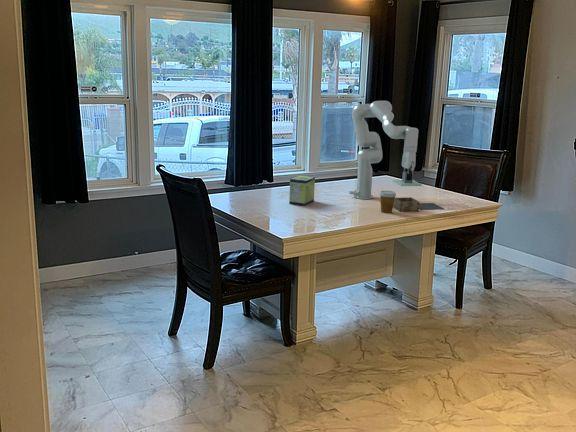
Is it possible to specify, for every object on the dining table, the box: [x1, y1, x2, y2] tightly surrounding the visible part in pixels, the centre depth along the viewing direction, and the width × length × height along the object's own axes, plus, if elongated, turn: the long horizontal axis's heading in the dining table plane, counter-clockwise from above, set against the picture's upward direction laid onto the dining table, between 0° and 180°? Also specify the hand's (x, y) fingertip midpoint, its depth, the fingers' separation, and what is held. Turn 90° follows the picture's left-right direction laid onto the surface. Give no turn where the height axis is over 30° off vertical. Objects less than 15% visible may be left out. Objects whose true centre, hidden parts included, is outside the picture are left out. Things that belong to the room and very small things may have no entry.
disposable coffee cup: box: [379, 190, 397, 214], centre depth 346 cm, size 10×10×12 cm
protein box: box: [288, 174, 316, 207], centre depth 362 cm, size 10×16×16 cm
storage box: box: [393, 196, 421, 213], centre depth 354 cm, size 12×12×6 cm
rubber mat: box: [419, 202, 445, 211], centre depth 364 cm, size 15×15×1 cm
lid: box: [392, 171, 423, 187], centre depth 350 cm, size 13×13×7 cm
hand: (407, 179), depth 350 cm, fingers closed on lid, 4 cm apart
